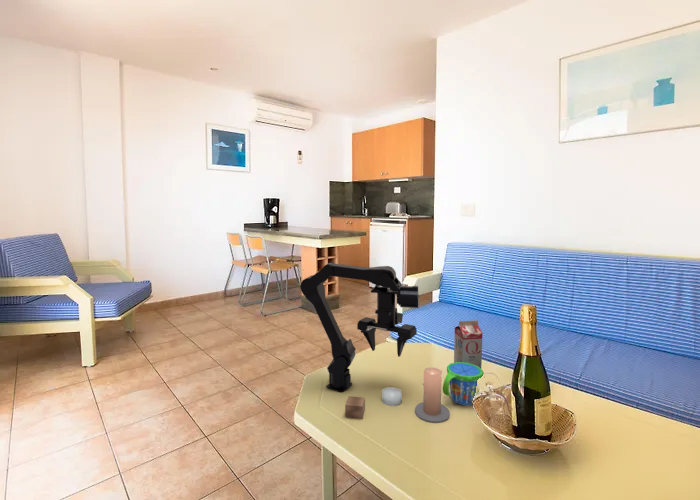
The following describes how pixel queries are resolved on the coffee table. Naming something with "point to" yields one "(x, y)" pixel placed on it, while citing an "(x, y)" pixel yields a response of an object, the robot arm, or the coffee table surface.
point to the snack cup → (462, 382)
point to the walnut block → (355, 407)
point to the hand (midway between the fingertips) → (386, 353)
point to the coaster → (432, 418)
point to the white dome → (391, 396)
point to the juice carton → (468, 343)
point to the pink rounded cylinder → (432, 391)
